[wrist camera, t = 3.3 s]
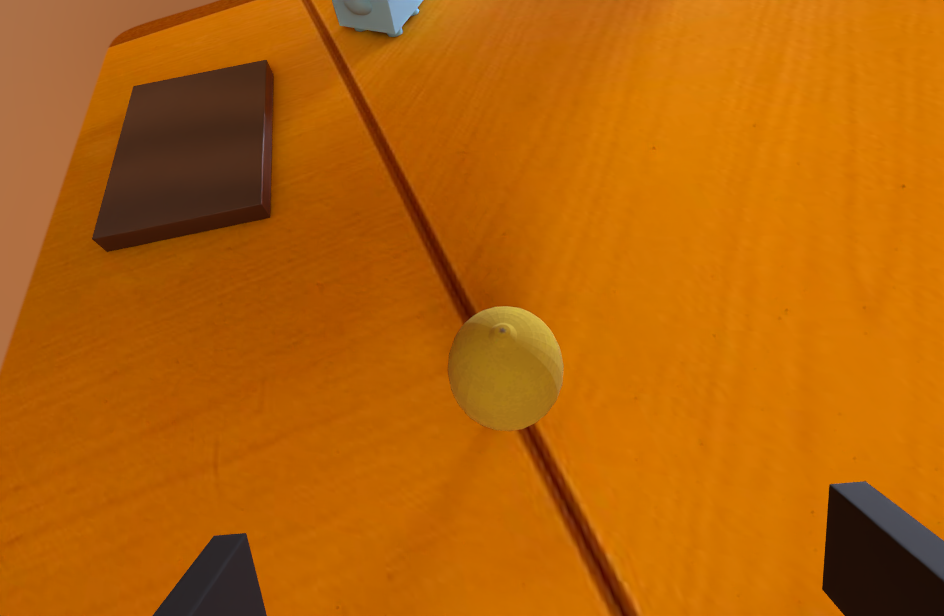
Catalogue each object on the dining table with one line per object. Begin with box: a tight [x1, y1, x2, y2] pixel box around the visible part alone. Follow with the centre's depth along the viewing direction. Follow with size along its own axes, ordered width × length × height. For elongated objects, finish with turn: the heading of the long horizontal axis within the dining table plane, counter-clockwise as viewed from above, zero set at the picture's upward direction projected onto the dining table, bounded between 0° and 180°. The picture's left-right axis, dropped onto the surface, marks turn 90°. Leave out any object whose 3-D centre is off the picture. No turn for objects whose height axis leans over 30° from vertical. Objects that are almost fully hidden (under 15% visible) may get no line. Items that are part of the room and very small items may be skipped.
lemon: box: [448, 306, 563, 431], centre depth 24 cm, size 6×6×8 cm
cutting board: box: [92, 60, 273, 252], centre depth 40 cm, size 18×12×2 cm, turn 11°
